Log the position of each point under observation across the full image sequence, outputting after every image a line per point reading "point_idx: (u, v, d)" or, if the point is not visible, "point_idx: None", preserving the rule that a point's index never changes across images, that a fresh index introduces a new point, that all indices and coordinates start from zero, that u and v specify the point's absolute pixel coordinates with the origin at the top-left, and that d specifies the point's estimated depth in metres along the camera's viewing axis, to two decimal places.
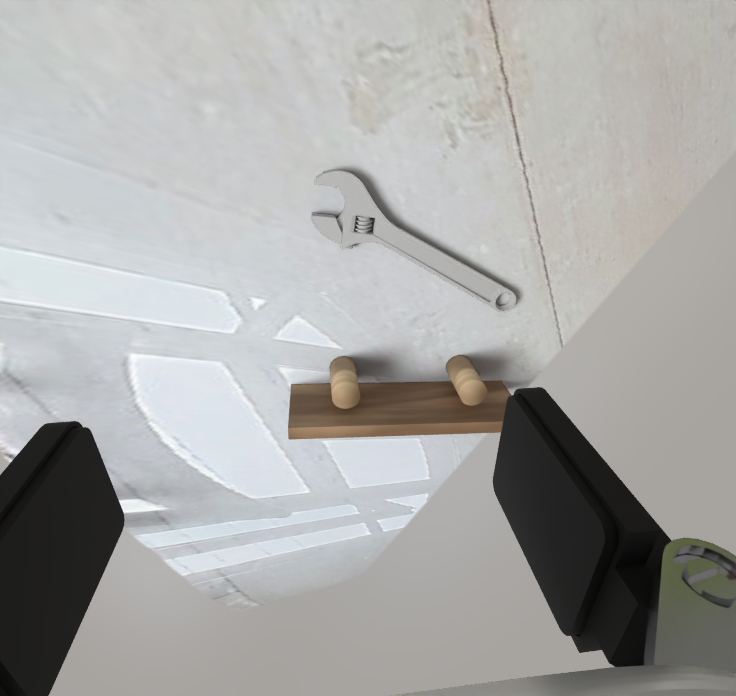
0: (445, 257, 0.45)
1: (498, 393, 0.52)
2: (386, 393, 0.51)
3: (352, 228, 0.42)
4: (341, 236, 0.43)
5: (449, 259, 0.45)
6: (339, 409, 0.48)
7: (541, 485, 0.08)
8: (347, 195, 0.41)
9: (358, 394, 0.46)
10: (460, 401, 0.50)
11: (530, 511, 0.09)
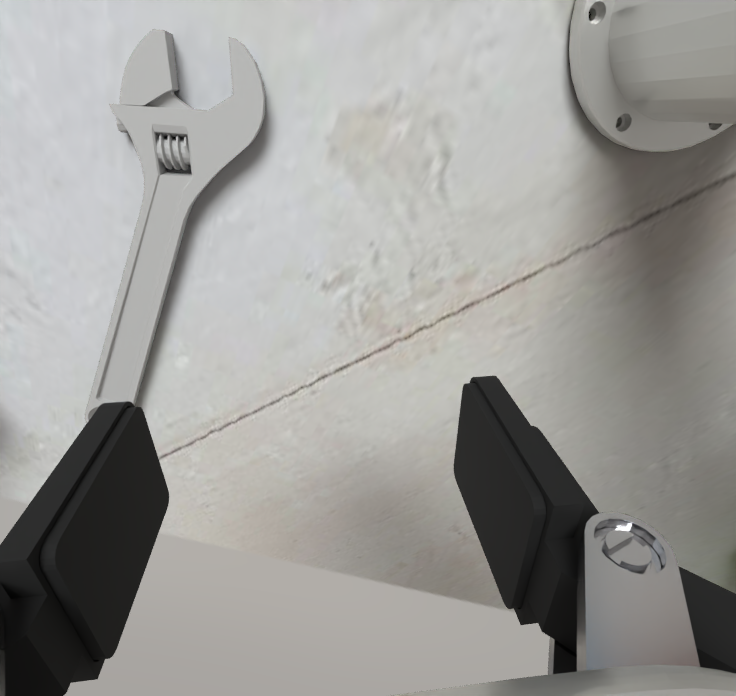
0: (153, 312, 0.26)
1: None
2: None
3: (160, 128, 0.21)
4: (137, 105, 0.21)
5: (151, 319, 0.26)
6: None
7: (488, 467, 0.09)
8: (222, 113, 0.21)
9: None
10: None
11: (481, 493, 0.09)
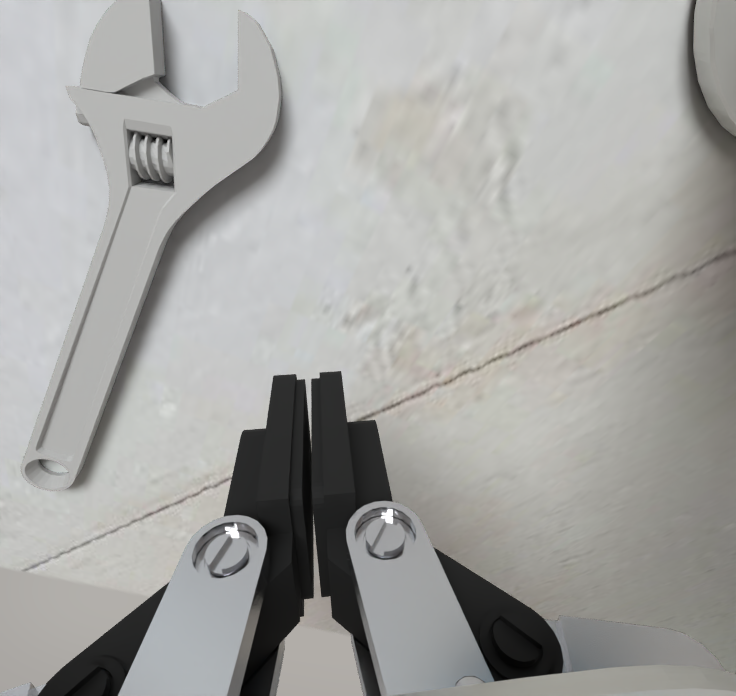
0: (113, 355, 0.20)
1: None
2: None
3: (135, 125, 0.16)
4: (106, 92, 0.15)
5: (111, 363, 0.20)
6: None
7: None
8: (221, 113, 0.16)
9: None
10: None
11: None
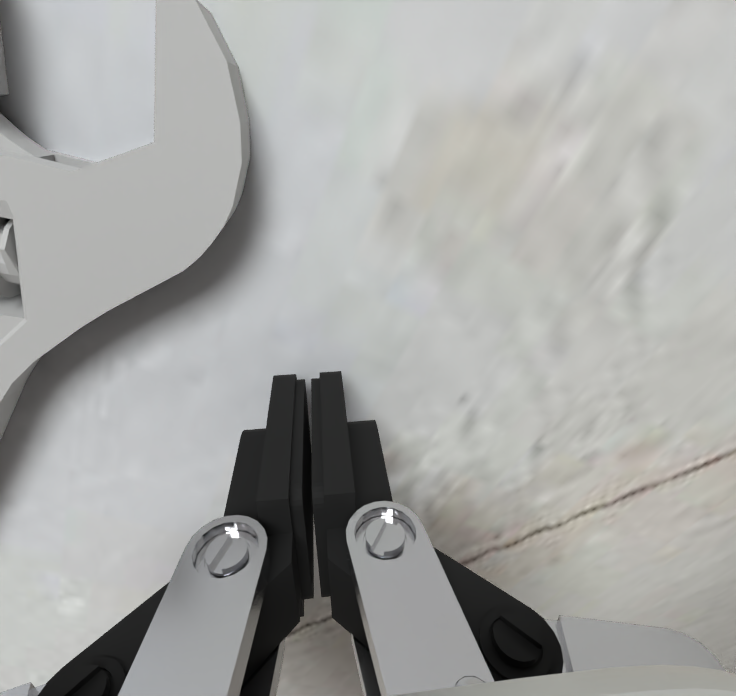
0: None
1: None
2: None
3: None
4: None
5: None
6: None
7: None
8: (118, 184, 0.08)
9: None
10: None
11: None
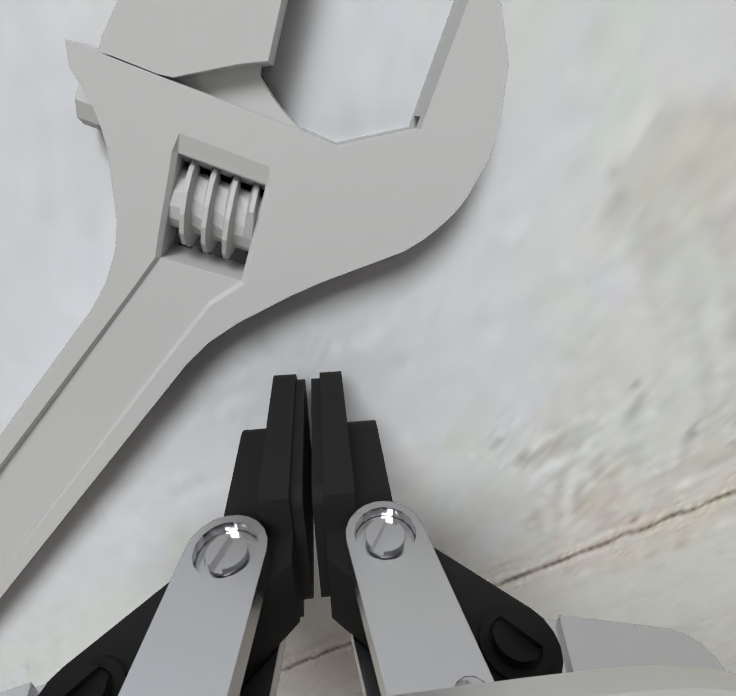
0: (54, 514, 0.11)
1: None
2: None
3: (198, 151, 0.08)
4: (152, 72, 0.07)
5: (46, 526, 0.12)
6: None
7: None
8: (375, 164, 0.08)
9: None
10: None
11: None
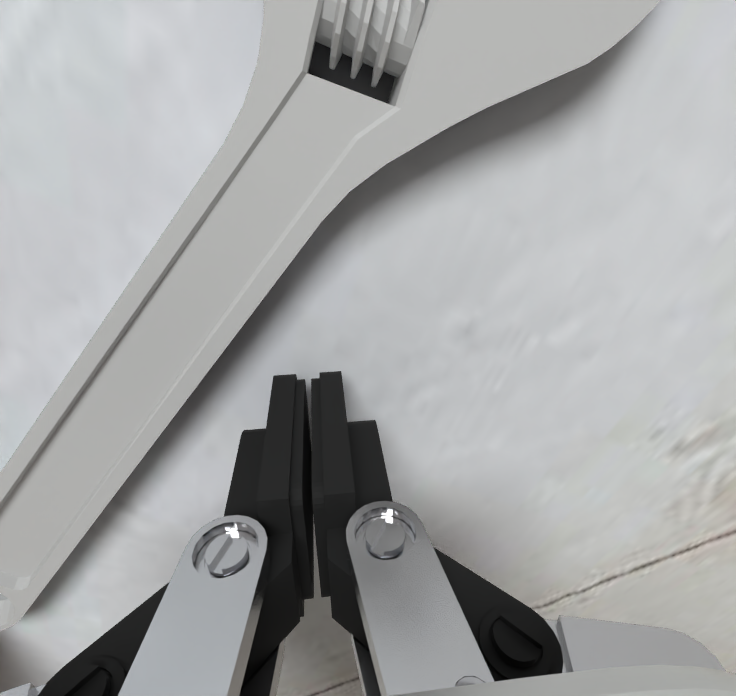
0: (157, 421, 0.10)
1: None
2: None
3: None
4: None
5: (148, 435, 0.10)
6: None
7: None
8: None
9: None
10: None
11: None
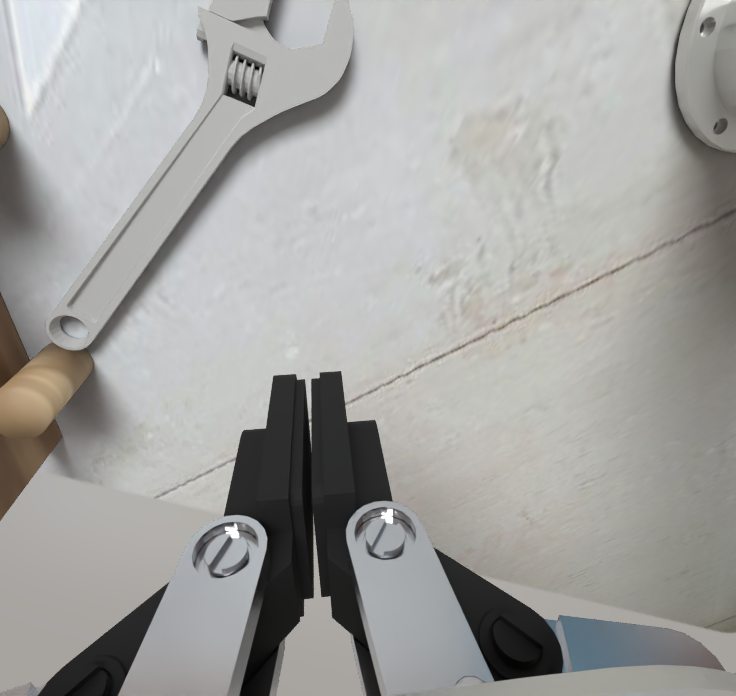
0: (164, 231, 0.25)
1: (34, 445, 0.28)
2: None
3: (240, 49, 0.21)
4: (225, 19, 0.21)
5: (160, 238, 0.25)
6: None
7: None
8: (306, 57, 0.22)
9: None
10: None
11: None
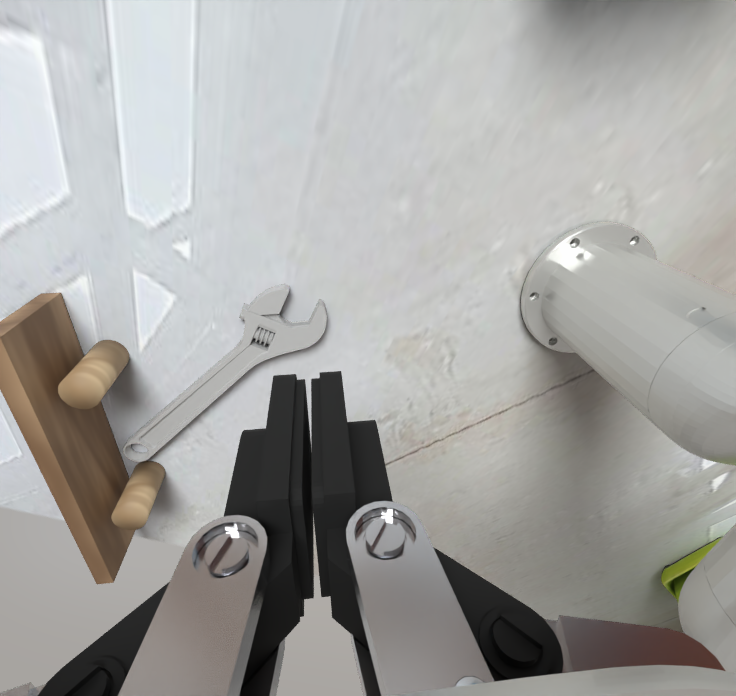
0: (205, 405, 0.41)
1: None
2: (90, 417, 0.39)
3: (262, 326, 0.38)
4: (256, 313, 0.37)
5: (201, 408, 0.41)
6: (51, 382, 0.34)
7: None
8: (299, 331, 0.38)
9: (89, 406, 0.34)
10: (109, 500, 0.41)
11: None
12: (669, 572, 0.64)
